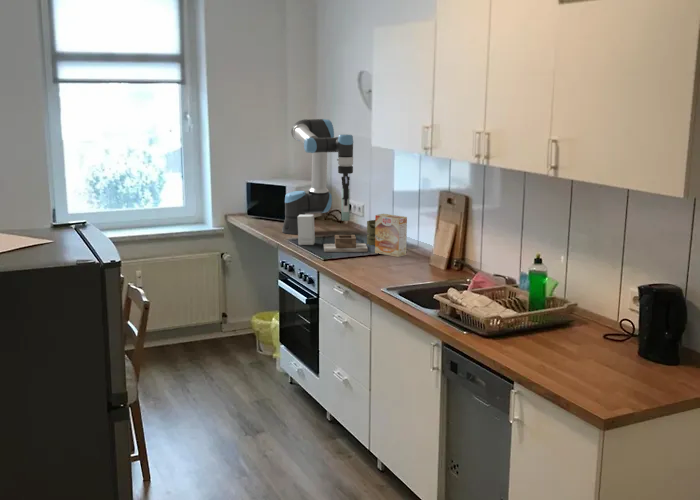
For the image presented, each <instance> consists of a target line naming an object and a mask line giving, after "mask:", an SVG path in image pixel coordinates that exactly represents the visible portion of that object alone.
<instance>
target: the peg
mask: <svg viewBox="0 0 700 500" xmlns="http://www.w3.org/2000/svg"><path fill="white" fill-rule="evenodd" d="M342 198H343V189H342V188H341V221H344V222H345V221H346V222H347V221H350V198H349V199H348V212H343V199H342Z"/></svg>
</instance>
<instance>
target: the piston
mask: <svg viewBox="0 0 700 500" xmlns="http://www.w3.org/2000/svg"><path fill="white" fill-rule="evenodd" d="M366 233H367V234H366V245H368V244H369V245H368V246H371V245H375V219H373V220H372V219H370V220H367V221H366Z"/></svg>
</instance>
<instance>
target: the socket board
mask: <svg viewBox="0 0 700 500" xmlns="http://www.w3.org/2000/svg"><path fill="white" fill-rule="evenodd" d="M368 251H369V250H368V246H367V243H366V242H365V243H364V242H363V243H359V242H358V243H357V237H356V235H355V234H334V243H323V252H324V253H348V252H349V253H353V252H355V253H357V252H358V253H360V252H361V253H362V252H363V253H365V252H366V253H367V252H368Z"/></svg>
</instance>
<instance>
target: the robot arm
mask: <svg viewBox="0 0 700 500" xmlns="http://www.w3.org/2000/svg"><path fill="white" fill-rule="evenodd" d="M292 125H293V126H292V127H291V131H290V133H291V136H292V138H293V139H294V140H296V141H297V142H301V144H303V148H304V152H305V153H307V154H308V153H310V154H311V187H309V188H308V192H307V193H306V191H305V190H295V191H290V192H287V193H286V194H285V197H284V216H285V217H284V221H283V225H282V230H281V231H282V233H283V234H288V235H298V218H297V217H298V216H299V215H307V214H323V213H325V214H326V213H328V212H329V211H330V210H331V207H332V205H333V204H332V203H333V198H332V197H333V196H332V193H331V192H330V191H329V189H328V188H327V180H328V179H327V173H328V153H337V154H338V155H337V157H338V158H337V159H336V161H337V163H338V164H337V165H338V167H337V172H338V173H339V175H340V174H342V176H341V177H340V178H341V186H342V188H341V190H342V189H343V198H342V197H341V200H342V199H343V212H348V199H349V200H350V188H349V186H350V180H351V179H350V176H349V174H353V173H354V166H353V165H354V136H353V135H352V134H349V133H348V134H339V135H338V136H336V137H335V129H334V125H333V122H332V121H331V120H330V119H325V118H315V119H314V118H313V119H309V118H308V119H305V118H304V119H300V120H298V121H296V122H295V123H294V124H292Z"/></svg>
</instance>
